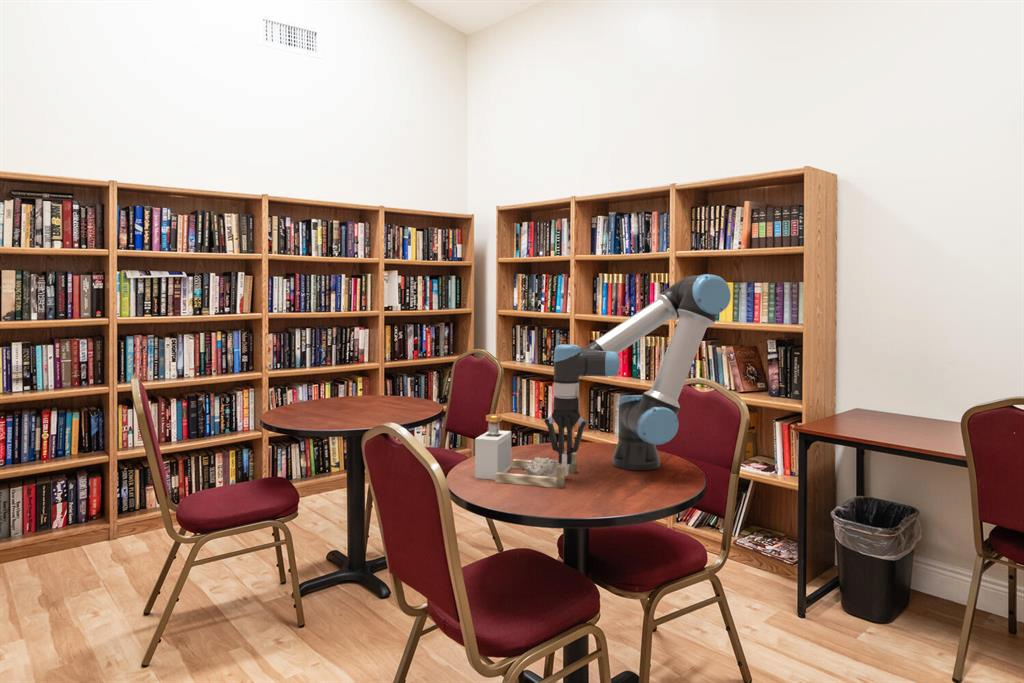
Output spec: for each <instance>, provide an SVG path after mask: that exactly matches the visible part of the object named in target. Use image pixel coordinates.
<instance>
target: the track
mask: <svg viewBox="0 0 1024 683" xmlns="http://www.w3.org/2000/svg"><path fill="white" fill-rule="evenodd" d="M577 454H578V452H574V453H572V463H571V464H569V467H568V474H576V473H577V471H578V470H577V469H578V468H577V467H578V466H577V465H578V464H577V463H578V462H577V461H578V460H577V459H578V458H577V457H578V455H577ZM532 460H533V459H518V458H513V459H511V469H519V470H525V466H526V465H527V464H528V462H532ZM565 480H566V476H565V466H557V473H556V477H548V476H536V475H528V474H526V473H525V474H524V473H523V474H522V473H521V474H520V473H513V472H512V473H511V472H506V473H502V472H497V473H496V474H495V480H494V482H495V483H500V484H502V483H503V484H512V485H520V486H521V485H522V486H532V487H533V486H534V487H544V488H545V487H546V488H555V489H564V488H565V486H566V481H565Z"/></svg>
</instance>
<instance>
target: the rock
mask: <svg viewBox="0 0 1024 683" xmlns="http://www.w3.org/2000/svg"><path fill="white" fill-rule="evenodd" d="M531 460H532V462H528V464H527V465H526V466H525V469H523V470H524V471H523V472H524V473H525V474H527V475H536V476H548V477H556V473H557V466H562V464H559V461H558V460H556V459H551V458H550V457H546V458H545V457H541V458H540V456H538V457H534V458H533V459H531Z"/></svg>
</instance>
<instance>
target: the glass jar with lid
mask: <svg viewBox="0 0 1024 683" xmlns="http://www.w3.org/2000/svg"><path fill="white" fill-rule="evenodd" d="M502 419H503V418H502V415H501V414H496V413H493V414H492V413H491V414H486V415H485V421H486V422H488V431H489V436H495V437H499V430H500V422H501V421H502Z"/></svg>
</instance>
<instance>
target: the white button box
mask: <svg viewBox="0 0 1024 683" xmlns="http://www.w3.org/2000/svg"><path fill="white" fill-rule="evenodd" d="M474 445H475V448H474V461H475V462H474V468H475V469H474V478H475V479H482V480H483V479H484V480H494V481H495V474H496V473H497V472H502V473H508V472H509V471H510V470H511V469H512V431H511V430H500V429H499V437H495V436H489V430H488V431H485V433H483V434H480V435H478V436H477V437H476V438H475V439H474Z"/></svg>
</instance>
